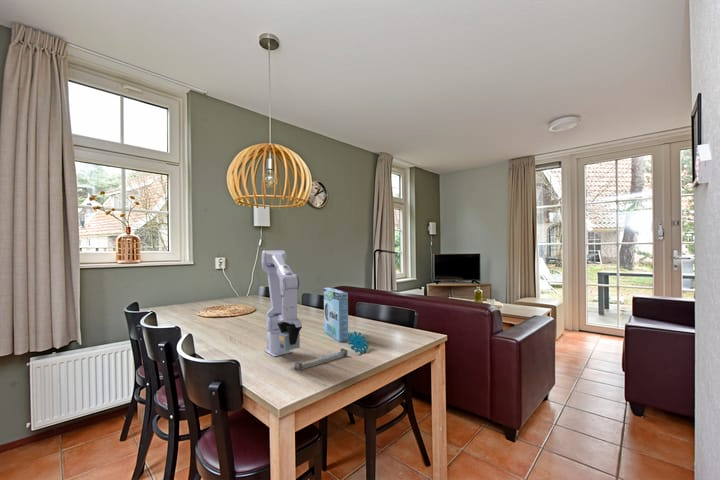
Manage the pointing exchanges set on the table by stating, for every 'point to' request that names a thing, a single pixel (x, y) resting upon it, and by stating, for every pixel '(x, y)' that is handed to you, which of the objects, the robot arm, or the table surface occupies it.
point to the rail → (321, 360)
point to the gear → (358, 342)
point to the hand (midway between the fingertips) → (289, 342)
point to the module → (287, 341)
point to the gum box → (336, 313)
